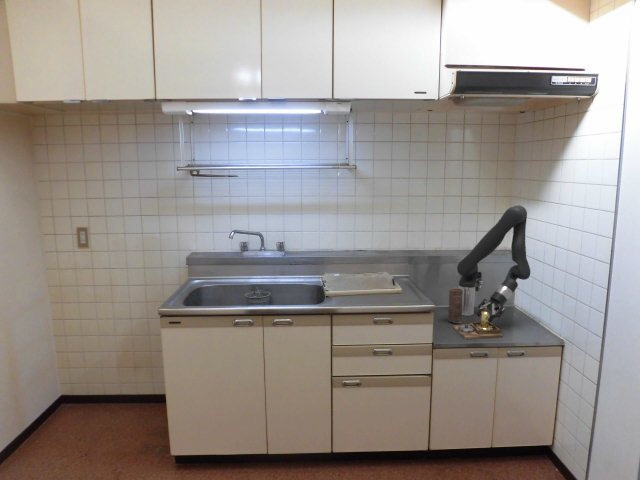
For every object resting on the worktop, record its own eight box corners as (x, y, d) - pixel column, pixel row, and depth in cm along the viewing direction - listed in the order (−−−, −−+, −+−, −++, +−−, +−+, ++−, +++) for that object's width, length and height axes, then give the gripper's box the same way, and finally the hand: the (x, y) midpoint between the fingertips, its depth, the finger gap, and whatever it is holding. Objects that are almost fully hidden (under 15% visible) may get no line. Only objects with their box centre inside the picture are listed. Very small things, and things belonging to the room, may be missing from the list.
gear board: (452, 327, 227) (453, 319, 226) (487, 325, 228) (488, 317, 227) (465, 339, 211) (465, 330, 210) (502, 337, 212) (503, 328, 212)
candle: (452, 325, 229) (454, 291, 226) (445, 320, 236) (446, 287, 233) (464, 323, 231) (466, 289, 228) (456, 319, 238) (458, 286, 235)
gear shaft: (473, 327, 223) (474, 309, 222) (488, 326, 224) (489, 308, 222) (480, 333, 215) (481, 315, 214) (495, 332, 216) (496, 314, 214)
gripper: (488, 287, 225) (470, 310, 223) (508, 295, 212) (488, 319, 210) (495, 295, 228) (477, 318, 226) (515, 303, 214) (496, 327, 213)
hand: (482, 318), depth 218 cm, fingers open, 8 cm apart
